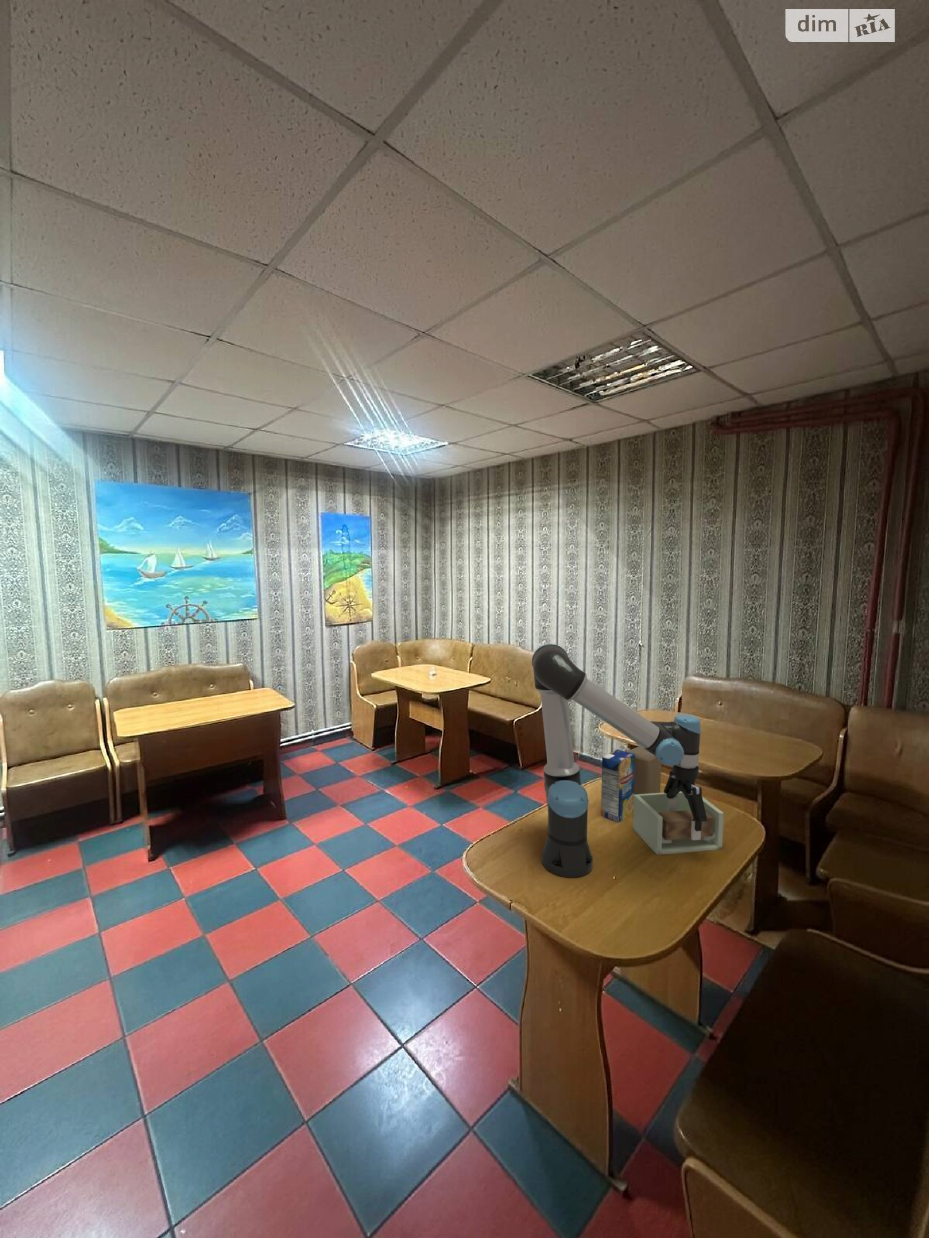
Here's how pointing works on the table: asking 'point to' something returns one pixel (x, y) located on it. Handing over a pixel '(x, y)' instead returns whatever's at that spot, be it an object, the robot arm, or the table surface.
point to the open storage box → (651, 822)
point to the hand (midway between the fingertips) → (683, 827)
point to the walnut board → (683, 825)
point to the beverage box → (617, 785)
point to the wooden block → (646, 772)
